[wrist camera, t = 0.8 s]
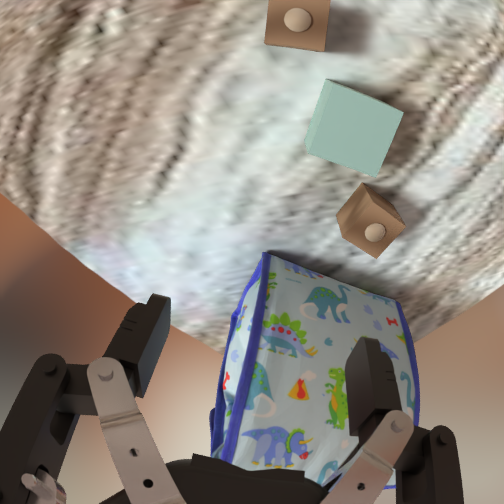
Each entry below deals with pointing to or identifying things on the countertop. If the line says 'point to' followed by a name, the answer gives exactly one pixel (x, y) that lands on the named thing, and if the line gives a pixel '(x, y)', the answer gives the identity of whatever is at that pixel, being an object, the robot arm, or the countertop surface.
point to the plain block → (351, 128)
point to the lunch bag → (301, 370)
